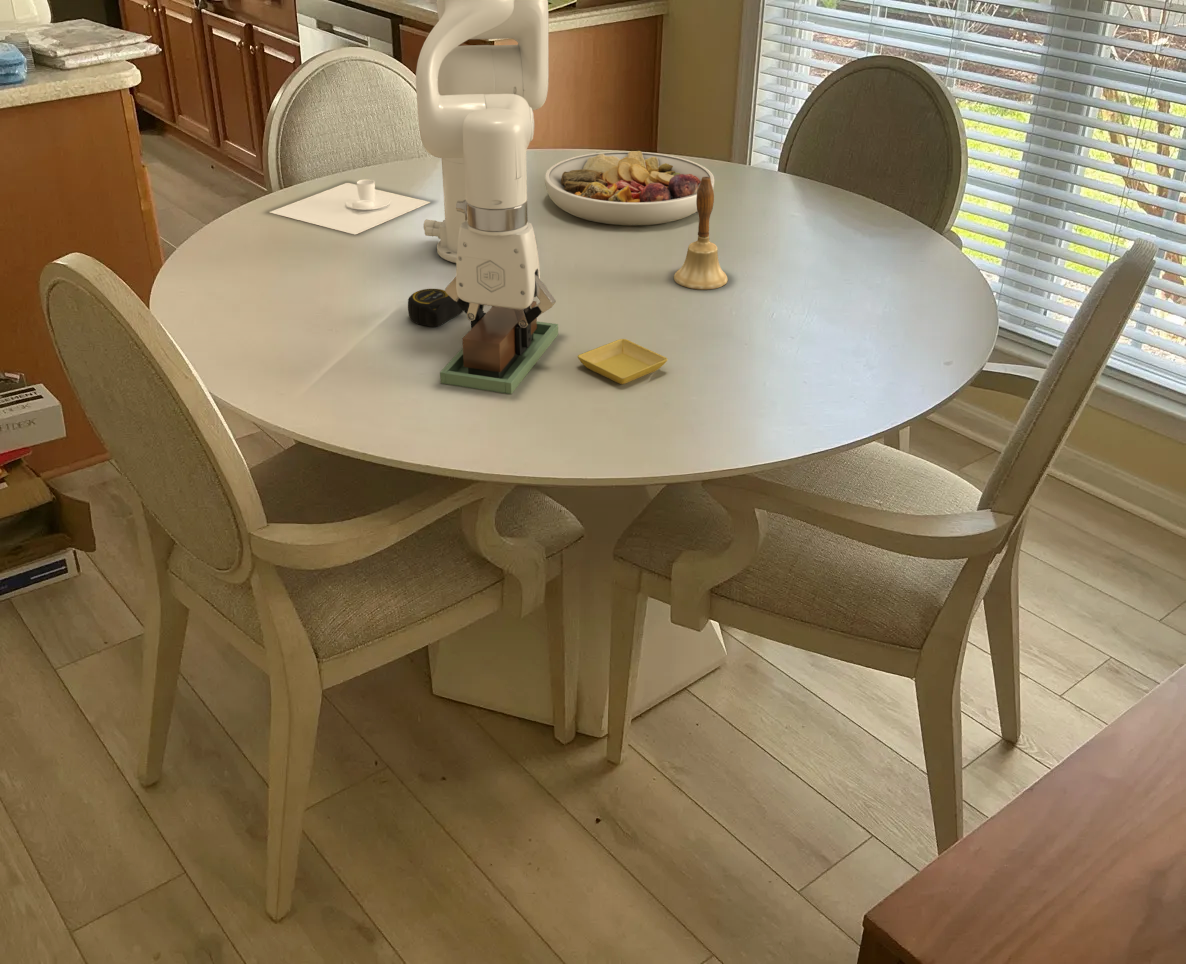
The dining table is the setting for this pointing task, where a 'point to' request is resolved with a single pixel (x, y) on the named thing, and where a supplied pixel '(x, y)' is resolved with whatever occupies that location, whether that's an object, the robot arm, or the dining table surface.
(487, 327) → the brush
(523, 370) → the tray
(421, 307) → the tape measure
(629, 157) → the bowl
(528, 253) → the robot arm
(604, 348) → the yellow flat tray
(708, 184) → the hand bell
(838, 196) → the dining table surface
